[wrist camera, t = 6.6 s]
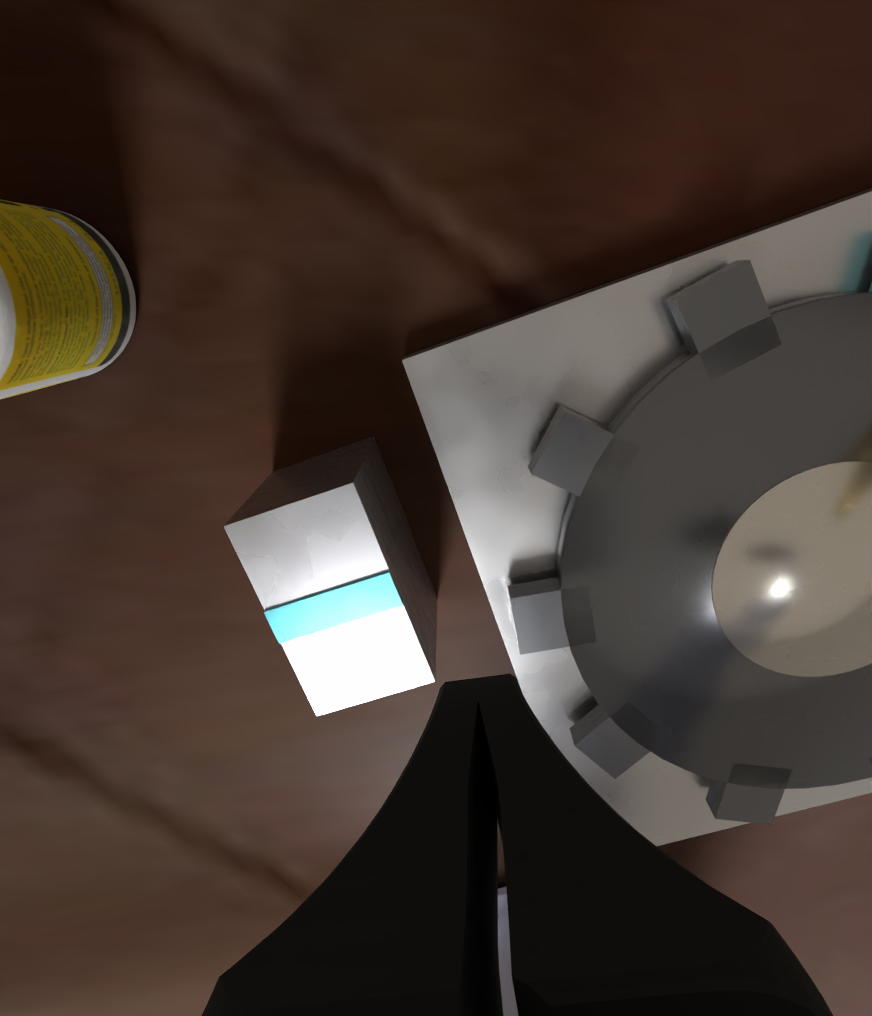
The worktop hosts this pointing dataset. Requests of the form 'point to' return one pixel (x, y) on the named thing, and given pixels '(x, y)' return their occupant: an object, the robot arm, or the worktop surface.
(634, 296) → the base plate
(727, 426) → the sprocket
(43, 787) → the worktop surface
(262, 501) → the link block
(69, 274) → the supplement bottle
